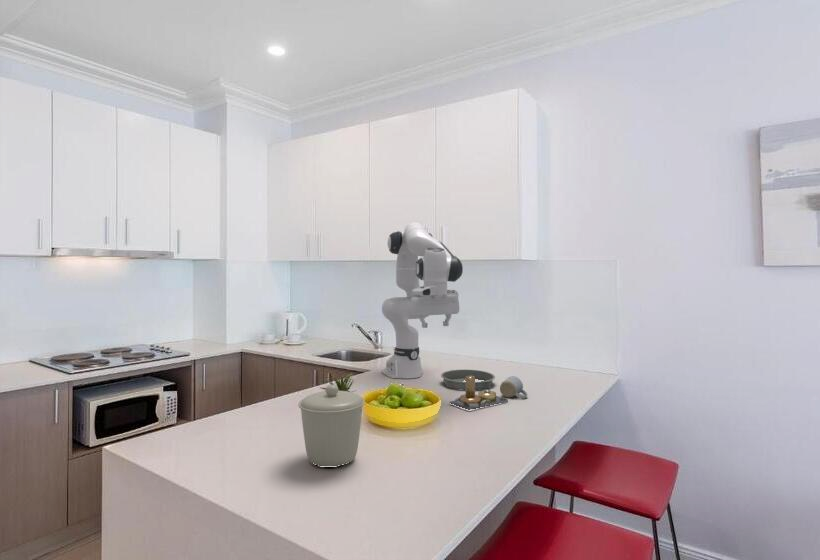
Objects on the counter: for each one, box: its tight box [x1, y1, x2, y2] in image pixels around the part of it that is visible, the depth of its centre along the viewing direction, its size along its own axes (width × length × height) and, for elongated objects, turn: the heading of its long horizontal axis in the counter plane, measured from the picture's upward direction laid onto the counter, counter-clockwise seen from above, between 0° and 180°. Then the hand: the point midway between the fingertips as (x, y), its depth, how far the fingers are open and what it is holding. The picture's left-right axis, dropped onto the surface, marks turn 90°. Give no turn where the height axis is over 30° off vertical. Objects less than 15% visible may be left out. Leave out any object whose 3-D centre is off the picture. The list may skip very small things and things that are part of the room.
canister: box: [298, 384, 366, 466], centre depth 128 cm, size 18×18×21 cm
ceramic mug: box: [499, 375, 528, 400], centre depth 192 cm, size 11×8×8 cm
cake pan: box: [440, 369, 496, 391], centre depth 212 cm, size 25×25×4 cm
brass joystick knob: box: [459, 376, 481, 405], centre depth 179 cm, size 8×8×10 cm
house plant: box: [320, 372, 356, 393], centre depth 165 cm, size 14×14×16 cm
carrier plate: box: [448, 388, 509, 410], centre depth 182 cm, size 12×21×5 cm, turn 125°
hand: (435, 326), depth 175 cm, fingers open, 8 cm apart
